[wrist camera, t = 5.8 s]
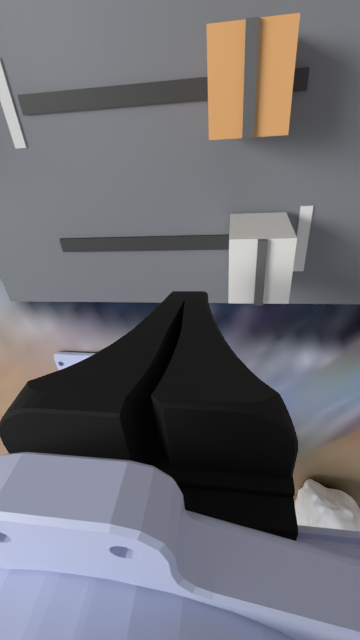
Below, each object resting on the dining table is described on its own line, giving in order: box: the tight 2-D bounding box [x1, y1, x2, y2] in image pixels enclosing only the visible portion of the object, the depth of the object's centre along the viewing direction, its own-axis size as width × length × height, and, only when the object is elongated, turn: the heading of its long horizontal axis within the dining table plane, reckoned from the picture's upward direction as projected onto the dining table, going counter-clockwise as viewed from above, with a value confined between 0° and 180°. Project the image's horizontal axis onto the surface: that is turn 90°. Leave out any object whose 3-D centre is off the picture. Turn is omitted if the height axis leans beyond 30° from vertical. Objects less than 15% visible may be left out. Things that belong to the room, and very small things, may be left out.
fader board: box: [0, 0, 360, 304], centre depth 17 cm, size 15×23×2 cm, turn 94°
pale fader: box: [228, 212, 297, 306], centre depth 16 cm, size 3×3×4 cm
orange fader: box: [206, 13, 300, 140], centre depth 12 cm, size 3×3×4 cm
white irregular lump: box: [295, 479, 360, 532], centre depth 31 cm, size 12×8×11 cm
